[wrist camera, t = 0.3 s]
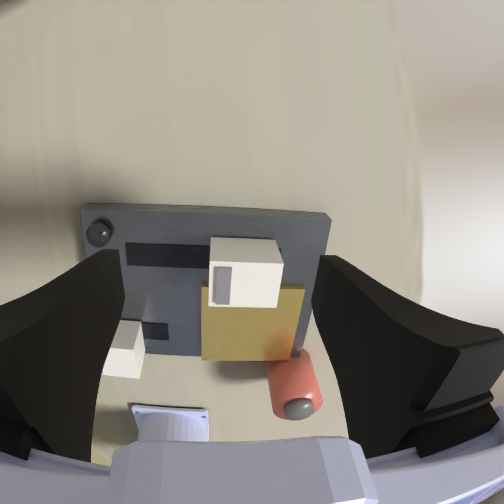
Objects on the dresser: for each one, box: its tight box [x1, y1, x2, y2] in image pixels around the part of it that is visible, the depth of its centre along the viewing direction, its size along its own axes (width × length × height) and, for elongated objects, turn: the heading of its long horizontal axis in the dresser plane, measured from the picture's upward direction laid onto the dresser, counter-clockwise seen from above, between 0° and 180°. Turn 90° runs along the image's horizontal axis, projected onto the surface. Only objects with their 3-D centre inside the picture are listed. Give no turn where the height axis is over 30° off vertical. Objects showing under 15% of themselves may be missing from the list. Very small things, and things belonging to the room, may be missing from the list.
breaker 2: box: [208, 237, 284, 308], centre depth 19 cm, size 3×4×3 cm
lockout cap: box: [265, 348, 323, 420], centre depth 25 cm, size 4×4×6 cm
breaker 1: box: [102, 320, 145, 379], centre depth 21 cm, size 3×4×3 cm
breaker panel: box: [80, 204, 332, 361], centre depth 22 cm, size 12×16×2 cm
